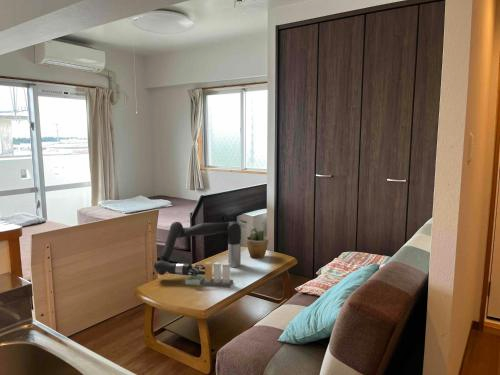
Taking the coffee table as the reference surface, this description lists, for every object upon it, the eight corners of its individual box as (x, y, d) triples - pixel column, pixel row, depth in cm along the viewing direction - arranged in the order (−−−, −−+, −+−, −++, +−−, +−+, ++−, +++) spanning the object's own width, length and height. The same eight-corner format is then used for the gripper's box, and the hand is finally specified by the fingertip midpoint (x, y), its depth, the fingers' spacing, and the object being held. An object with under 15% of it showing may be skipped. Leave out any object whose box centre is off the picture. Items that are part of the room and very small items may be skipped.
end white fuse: (224, 280, 247) (223, 262, 246) (230, 281, 247) (229, 263, 245) (222, 282, 244) (222, 264, 243) (228, 282, 243) (228, 264, 242)
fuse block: (205, 280, 253) (205, 274, 253) (233, 282, 249) (233, 276, 249) (201, 285, 244) (201, 279, 244) (229, 287, 241) (229, 281, 240)
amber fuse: (206, 279, 250) (206, 261, 248) (212, 279, 249) (212, 262, 248) (205, 281, 247) (204, 263, 245) (210, 281, 246) (210, 263, 244)
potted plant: (241, 258, 302) (241, 227, 299) (254, 252, 317) (253, 223, 314) (260, 262, 291) (260, 230, 288) (272, 255, 307) (272, 225, 304)
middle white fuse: (215, 279, 249) (215, 262, 247) (221, 280, 248) (220, 262, 246) (213, 281, 245) (213, 263, 244) (219, 282, 245) (219, 264, 243)
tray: (190, 279, 256) (190, 274, 255) (204, 280, 254) (204, 275, 253) (185, 284, 246) (185, 280, 246) (199, 285, 244) (199, 281, 244)
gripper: (187, 271, 257) (210, 272, 254) (179, 278, 244) (203, 280, 240) (187, 260, 257) (210, 261, 253) (179, 267, 243) (203, 268, 239)
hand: (206, 270), depth 247 cm, fingers open, 8 cm apart
